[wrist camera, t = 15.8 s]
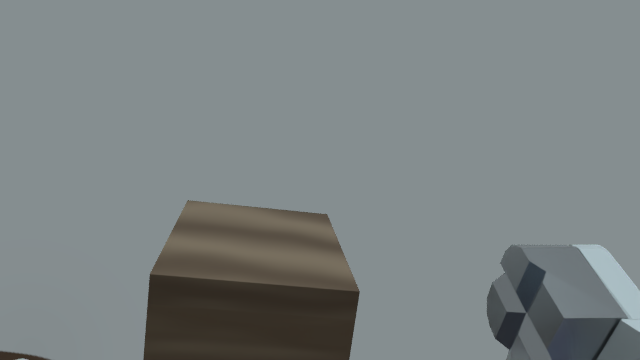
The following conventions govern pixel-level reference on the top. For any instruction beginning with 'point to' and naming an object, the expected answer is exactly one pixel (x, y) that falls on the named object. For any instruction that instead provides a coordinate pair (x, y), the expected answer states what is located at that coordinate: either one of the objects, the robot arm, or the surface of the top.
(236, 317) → the walnut block
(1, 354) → the top surface
